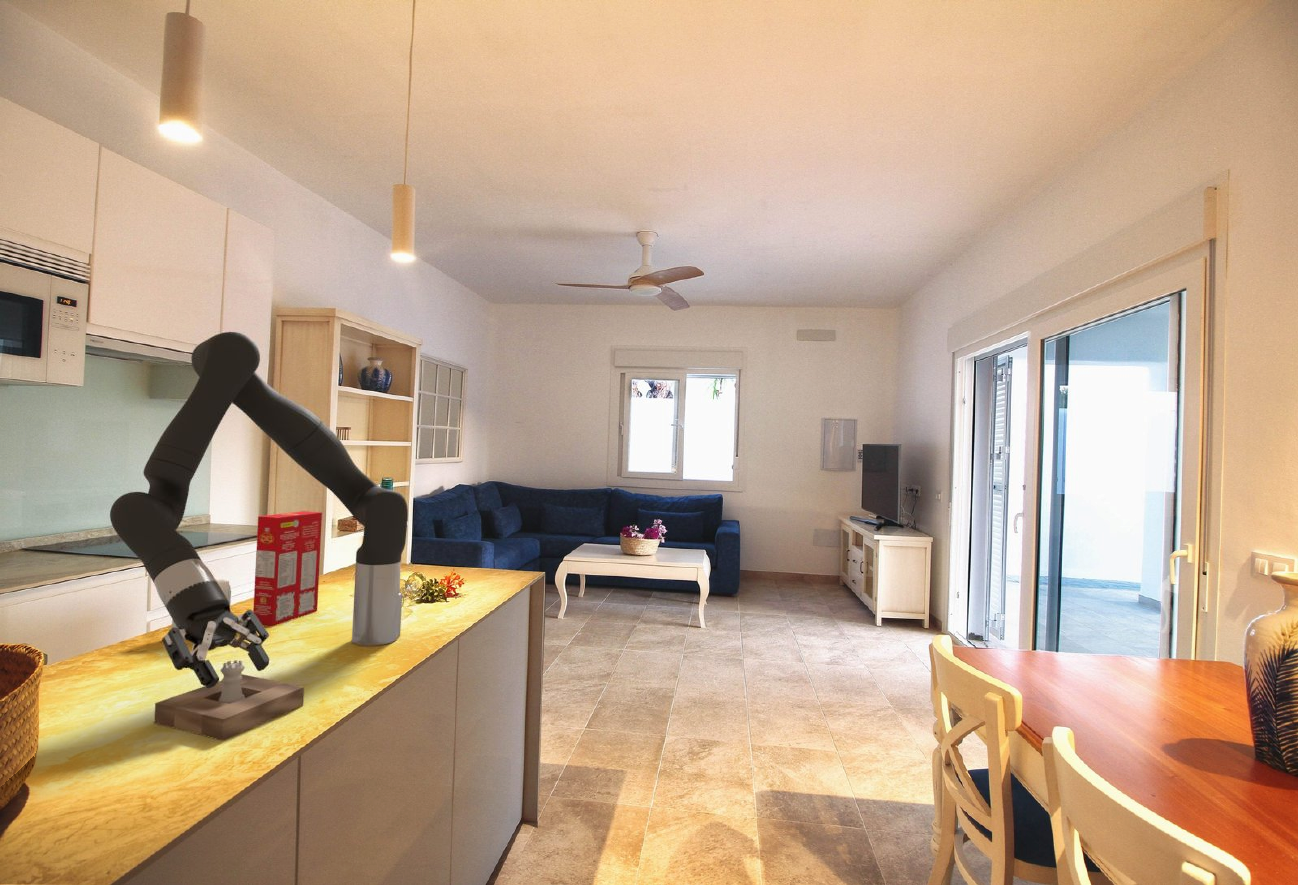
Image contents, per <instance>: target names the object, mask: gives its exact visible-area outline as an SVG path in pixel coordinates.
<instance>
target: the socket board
mask: <svg viewBox="0 0 1298 885" xmlns="http://www.w3.org/2000/svg"><path fill="white" fill-rule="evenodd" d="M241 676H242V677H243V678H242V679H241V688H242V694H243V695H244V699H241V700H239V701H236V702H233V703H231V704H227V703H223V702H219V698H220V696H221V693H222V688H223V681H222V680H219V681H218V683H217V684H216V685H215V686H214V687H211V688H207V687H206V686H202V687H201V686H200V687H198V688H195V689H192V690H189V691H187V692H183V693H180V694H178V695H175V696H173V697H169V698H166V699H163V700H161V701H157V702H155V704H154V717H153V718H154V724H157V725H161V726H165V727H169V728H172V727H173V728H172V729H176V728H177V729H176V730H180V731H185V732H188V731H189V733H191V732H193V734H197V735H201V736H203V735H205V736H204V737H207V736H209V737H208V738H211V737H212V738H213V739H215V738H216V740H219V741H225V740H227V739H229V738H231V737H234V736H235V735H239V734H240V733H243V732H245V731H247V730H250V729H252V728H254V727H257V726H259V725H261V724H264V723H266V722H268V721H270V720H273V719H276V718H277V717H280V716H282V715H285V714H287V713H289V712H292V711H294V710H296V709H298V708H300V707H301V708H302V707H303V706H304V701H305V700H304V699H305V686H301V685H297V684H296V685H295V684H291V683H287V682H282V681H276V680H271V679H268V678H263V677H262V678H261V677H257V676H256V677H255V676H252V675H247V674H243V673H241ZM233 735H234V736H233Z"/></svg>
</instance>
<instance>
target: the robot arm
mask: <svg viewBox="0 0 1298 885" xmlns="http://www.w3.org/2000/svg"><path fill="white" fill-rule="evenodd" d="M190 357H191V361H190V362H191V366H192V368H193V371H194V373H195V374H196V375H197V376H198V380H197V382H196V384H195V386H194V387H193V390H192V392H191V393H190V395H189V397H187V400H186V401H185V403H184V404H183V405H182V406H181V408H180V410H179V411H178V412H177V414H175V416H174V417H173V419H172V420H171V421H170V423H168V425H167V426H166V428H165V429H164V431H163V433H162V434H161V436H160V438H159V439H158V441H157V443H156V444H155V446H154V448H153V450H152V452H151V454H150V456H149V458H148V460H147V461H146V464H145V466H144V468H143V473H142V474H143V476H144V478H145V479H146V481H147V482H148V484H149V488H148V492H143V491H131V492H128V493H124V494H122V495H121V496H118V498H117V499H116V500H115V501H114V502H113V504H112V506H111V507H110V512H109V520H110V523H111V526H112V528H113V530H114V531H115V532H116V534H117V535H118V537H119V538H120V539H121V541H122V542H123V543H124V544H125V545H126V546H127V547H128V548H129V549H130V551H131V552H132V553H133V554H135V556H136V557H137V558H138V559H139V560H140V561H141V563H142V564H143V566H144V568H145V570H146V572H147V574H148V575H149V578H150V579H151V581H152V582H153V584H154V586H155V588H156V592H157V594H158V597H159V599H160V600H161V602H162V604H163V605H164V608H166V610H167V612H168V614H169V616H170V618H171V619H173V621H174V623H175V624H176V626H177V628H175V627H173V628H172V627H171V629H169V630H168V632H167V633H166V634H165V635H164V636H163V637H162V639H161V642H162V643H163V646H164V648H165V650H166V652H167V654H168V656H169V658H170V660H171V662H172V664H173V666H174V668H175V669H176V671H182V670H183V669H189V670H191V671H193V672H194V674H195V676H196V677H197V678H198V681H199V682H200V684H201V685H202V687H204V686H206V687H207V688H211V687H214V686H215V685H216V684H217V683H218V682H219V681H220V676H219V674H218V673H217V671H216V670H215V668H214V667H213V666H214V665H212V663H211V661H210V659H207V656H208V652H209V651H213V650H215V649H217V648H224V647H227V646H230V647H231V648H234V649H236V648H240V649H241V650H243V651H245V652H247V656H248V657H249V659H250V660H251V662H252V664H253V665H254V667H255V668H256V670H257V671H258V672H262V671H263V670H265V669H266V668H268V666H269V665H270V657H269V655H268V654H267V652H266V651H265V649H264V647H263V646H262V644H263V643H264V642H265V641H266V640H267V639H268V638H269V637H270V633H269V632H268V631H267V629H266V628H265V627H264V626H265V625H262V624H261V622H260V621H259V619H258V618H257V616H256V615H255V614H254V612H253V610H252V609H247V610H245V612H244V613H241V614H239V615H236V614H234V613H233V612H232V611H231V604H230V605H229V601H228V599H227V598H226V596H225V594H224V593H223V591H222V589H221V588H220V586H219V585H218V583H217V581H216V580H215V579H216V578H215V577H214V575H213V573H212V571H211V570H210V569H209V567H208V566H206V564H205V563H204V562H203V560H202V559H201V557H200V556H199V553H198V552H197V550H196V549H195V547H194V545H193V544H192V543H191V541H189V539H187V538H186V537H185V536H183V535H182V534H181V533H179V532H178V531H177V529H178V528H179V526H180V525H181V523H182V521H183V517H184V514H185V510H186V507H187V502H188V497H189V492H190V485H191V481H192V480H193V478H194V476H195V474H196V472H197V470H198V468H199V466H200V463H201V462H202V460H203V458H204V457H205V453H206V452H207V449H208V448H209V445H210V444H211V441H212V439H213V438H214V435H215V433H216V432H217V430H218V428H219V425H220V424H221V422H222V420H223V419H224V417H225V415H226V413H227V412H228V411H229V410H228V409H229V408H230V407H231V405H232V404H233V405H234V406H235V407H237V408H238V409H239V410H241V412H243V413H244V414H245V415H246V416H247V417H248V418H250V419H251V421H252V422H253V423H254V424H255V425H256V426H257V427H258V428H259V429H260V430H262V432H263V433H265V435H267V437H269V438H270V439H271V440H272V441H274V443H275V444H276V445H277V446H278V447H279V448H280V449H281V450H283V451H284V453H285V454H286V455H288V457H290V458H291V459H292V460H293V461H294V462H295V463H296V464H297V465H299V467H301V468H302V469H303V470H305V471H306V472H307V473H308V474H309V475H311V476H312V477H313V478H314V479H315V480H317V481H318V482H319V483H320V484H322V485H323V486H324V487H325V488H327V489H329V491H330V492H332V494H334V496H335V497H336V498H337V499H338V501H340V503H341V504H342V505H343V506H344V507H345V508H346V509H347V510H348V511H349V513H350V514H351V515H352V516H353V518H354V519H355V520H356V521H357V522H358V523H359V524H360V525H362V526H363V527H364V528H363V538H362V543H361V546H359V547H358V548H357V550H356V552H355V553H356V554H355V570H354V571H355V572H354V573H355V574H354V590H353V592H354V593H353V594H354V595H353V612H352V629H351V630H352V631H351V632H352V633H351V634H352V635H351V643H353V644H355V645H360V646H367V647H368V646H369V647H370V646H380V645H386V644H390V643H393V642H395V641H397V640H398V637H401V630H402V628H401V627H402V605H403V604H402V603H403V594H402V593H400V591H401V589H400V588H401V567H402V555H403V551H404V550H405V547H406V540H407V531H408V516H409V510H408V504H407V501H406V498H405V497H404V496H403V495H402V494H401V493H400V492H398V491H396V490H393V489H389V488H384V487H381V486H380V485H379V484H377V483H375V482H374V480H372V479H371V478H370V477H368V476H367V475H366V474H365V473H364V472H363V471H361V469H360V468H359V467H357V464H355V462H354V461H353V460H352V458H351V456H350V454H349V453H348V450H347V449H346V447H345V446H344V444H343V443H342V441H341V439H340V438H339V437H338V436H337V435H336V434H335V433H334V431H332V430H331V429H330V427H328V425H326V424H325V422H323V421H322V419H320V418H319V417H318V416H317V415H316V414H315V413H313V412H312V411H311V410H308V409H307V408H306V407H304V406H303V405H300V404H299V403H297V402H296V401H293V400H292V399H290V398H288V397H286V396H285V395H283V394H281V393H280V392H278V391H277V390H275V389H274V388H273V387H271V386H270V384H268V383H267V382H266V381H265V380H264V379H263V378H262V377H261V376H260V375H259V374H258V373H257V369H258V368H259V366H260V362H261V354H260V349H259V347H258V346H257V345H256V342H255V341H253V340H252V339H251V338H250V337H249V336H247V335H245V334H243V333H241V332H237V331H227V332H226V331H225V332H221V333H217V334H215V335H213V336H211V337H209V338H208V339H206V340H204V341H202V342H200V343H199V344H197V346H195V348H194V349H193V351H192V352H191V356H190ZM237 634H238V635H239V636H238V637H237V638H236V636H237ZM185 640H186V641H188V642H190V643H192V644H193V645H192V649H191V651H190V649H189V647H188V645H187V643H186V641H185Z"/></svg>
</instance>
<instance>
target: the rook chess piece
mask: <svg viewBox="0 0 1298 885" xmlns="http://www.w3.org/2000/svg"><path fill="white" fill-rule="evenodd" d="M245 669H246V667H245V666H244V665H243V661H242V660H239V661H238V660H233V663H232V661H231V660H229V661H227V662H224V663H223V666H222V667H221V669H220V673H221V674H222V675H223V678H221V681H223V688H222V693H221V696H220V698H219V702H223V703H227V704H231V703H233V702H236V701H239V700H241V699H244V695H243V694H242V688H241V679H242V678H243V677H242V676H241V674H243V673H242V672H243V671H244V670H245Z"/></svg>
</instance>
